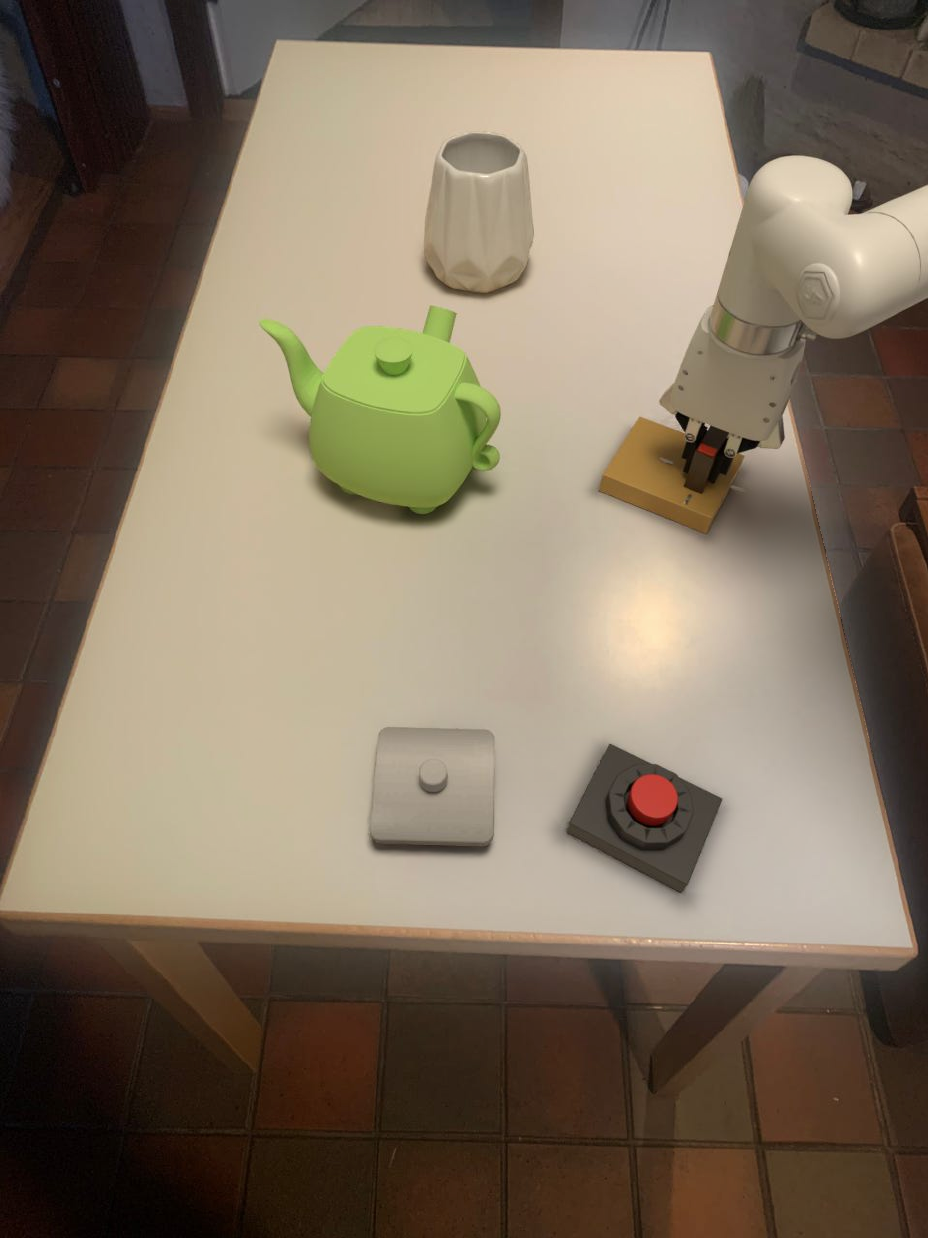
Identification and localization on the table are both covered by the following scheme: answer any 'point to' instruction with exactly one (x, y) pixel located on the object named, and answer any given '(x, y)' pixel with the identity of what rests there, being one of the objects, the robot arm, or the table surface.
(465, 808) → the light switch
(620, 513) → the table surface
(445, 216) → the vase
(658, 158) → the table surface
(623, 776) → the button base
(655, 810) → the button
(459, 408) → the teapot
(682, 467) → the plate
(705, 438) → the lock knob
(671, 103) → the table surface
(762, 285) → the robot arm
